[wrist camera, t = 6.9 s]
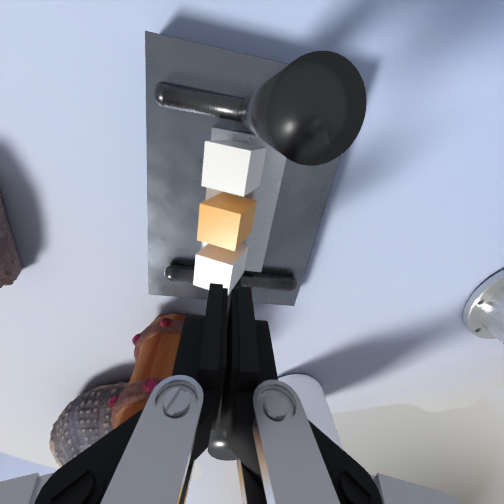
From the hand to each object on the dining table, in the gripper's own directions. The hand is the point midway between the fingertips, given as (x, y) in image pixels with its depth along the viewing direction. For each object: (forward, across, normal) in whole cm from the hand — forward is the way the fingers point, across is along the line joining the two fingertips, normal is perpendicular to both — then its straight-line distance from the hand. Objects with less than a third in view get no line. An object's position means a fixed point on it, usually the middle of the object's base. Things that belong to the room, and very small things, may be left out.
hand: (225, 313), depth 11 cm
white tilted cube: (+13, -1, -4) cm, 14 cm away
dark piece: (+17, -1, 0) cm, 17 cm away
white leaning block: (+13, -1, +4) cm, 14 cm away
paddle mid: (+13, -1, 0) cm, 13 cm away
